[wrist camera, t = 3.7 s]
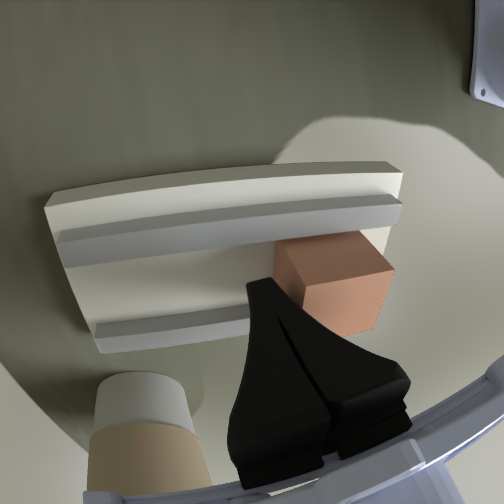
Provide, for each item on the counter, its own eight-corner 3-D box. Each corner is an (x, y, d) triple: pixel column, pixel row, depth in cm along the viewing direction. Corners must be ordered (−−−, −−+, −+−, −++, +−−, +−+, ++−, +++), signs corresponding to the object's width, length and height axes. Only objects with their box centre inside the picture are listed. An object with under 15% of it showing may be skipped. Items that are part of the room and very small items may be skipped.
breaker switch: (355, 225, 15) (394, 269, 12) (342, 283, 17) (373, 329, 14) (276, 235, 14) (306, 286, 11) (272, 295, 16) (295, 348, 14)
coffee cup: (63, 396, 20) (69, 581, 8) (124, 343, 18) (152, 598, 6) (152, 429, 25) (179, 581, 13) (223, 389, 23) (277, 573, 11)
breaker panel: (386, 161, 15) (415, 180, 13) (355, 293, 20) (373, 319, 18) (53, 192, 12) (36, 219, 10) (102, 333, 17) (100, 367, 15)
